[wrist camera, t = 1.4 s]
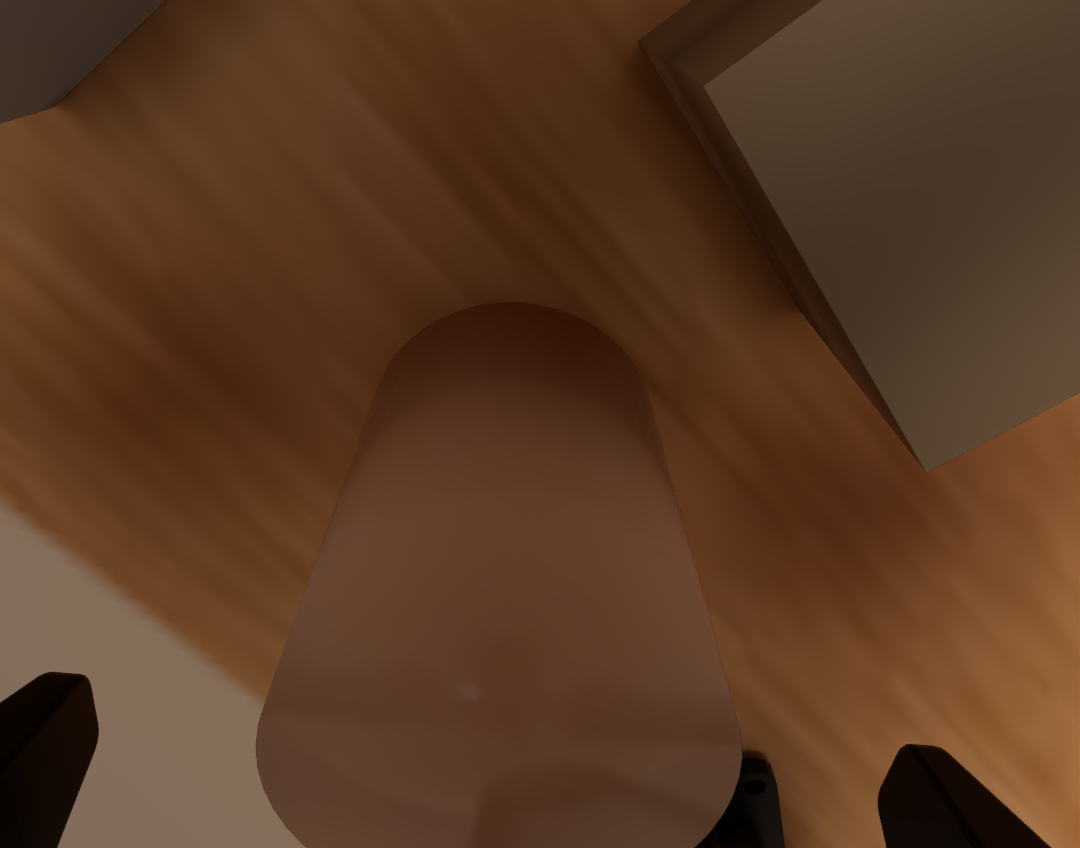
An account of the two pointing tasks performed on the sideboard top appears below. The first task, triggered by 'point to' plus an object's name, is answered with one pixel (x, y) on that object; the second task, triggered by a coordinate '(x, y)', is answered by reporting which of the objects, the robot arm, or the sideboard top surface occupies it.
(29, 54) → the tote
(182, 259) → the sideboard top surface
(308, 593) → the terracotta cylinder
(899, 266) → the walnut cube
